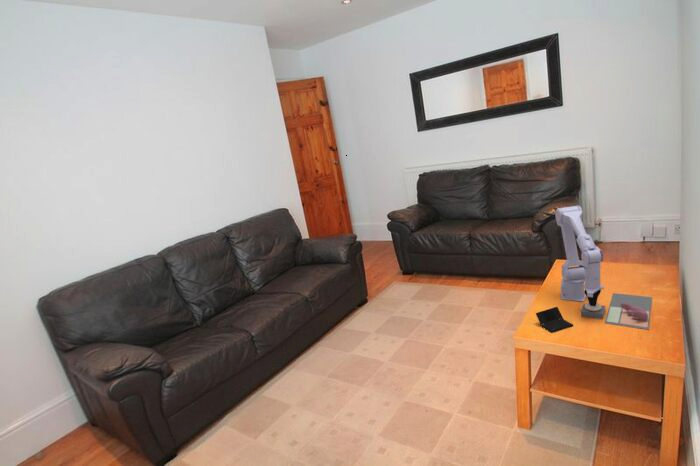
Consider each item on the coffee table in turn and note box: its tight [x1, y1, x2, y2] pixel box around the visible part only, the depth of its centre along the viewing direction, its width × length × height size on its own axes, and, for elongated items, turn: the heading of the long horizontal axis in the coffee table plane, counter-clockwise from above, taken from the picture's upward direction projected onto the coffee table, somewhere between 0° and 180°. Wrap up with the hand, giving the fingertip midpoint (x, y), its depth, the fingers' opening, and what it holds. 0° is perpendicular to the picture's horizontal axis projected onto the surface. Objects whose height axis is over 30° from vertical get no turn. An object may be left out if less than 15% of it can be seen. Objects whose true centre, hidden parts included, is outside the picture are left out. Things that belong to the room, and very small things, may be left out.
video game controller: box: [621, 303, 648, 320], centre depth 158 cm, size 10×5×7 cm
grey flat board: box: [604, 292, 653, 331], centre depth 164 cm, size 14×30×1 cm, turn 141°
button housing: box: [580, 302, 606, 320], centre depth 166 cm, size 8×8×2 cm
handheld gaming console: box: [535, 306, 574, 334], centre depth 163 cm, size 12×7×10 cm
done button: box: [585, 301, 601, 311], centre depth 166 cm, size 6×6×4 cm
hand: (592, 305), depth 165 cm, fingers closed, pressing on done button
